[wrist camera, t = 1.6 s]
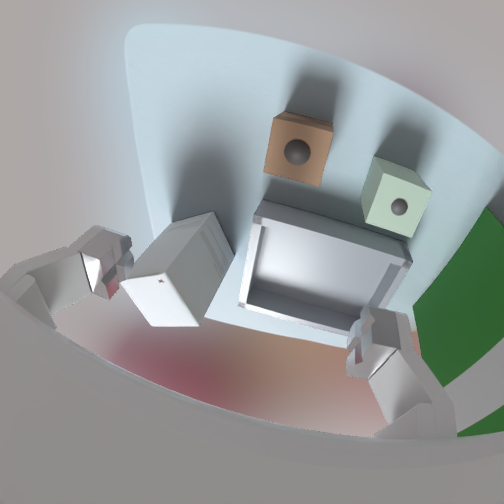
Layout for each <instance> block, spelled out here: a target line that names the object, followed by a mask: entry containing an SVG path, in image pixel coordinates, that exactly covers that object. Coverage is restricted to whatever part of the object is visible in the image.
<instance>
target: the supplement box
mask: <svg viewBox="0 0 504 504" xmlns="http://www.w3.org/2000/svg"><path fill="white" fill-rule="evenodd" d="M234 257H235V256H234V254H233V252H232V250H231V248H230V245H229V243H228V241H227V239H226V237H225V235H224V233H223V230H222V228H221V226H220V224H219V222H218V220H217V217H216V215H215V213H214V212H209V213H205V214H202V215H198V216H194V217H190V218H187V219H183V220H180V221H176V222H173V223H171V224H170V225H169V226H168V227H167V228H166V229H165V230H164V231H163V232H162V233H161V234H160V235H159V236H158V237H157V239H156V240H155V241H154V242H153V243H152V244H151V245H150V246H149V247H148V248H147V249H146V250H145V252H144V253H143V254H142V255H141V256H140V257H139V258H138V259H137V261H136V262H135V263H134V265H133V269H132V272H131V274H130V276H129V277H128V278H127V280H125V281H122V282H120V283H121V284H122V286H123V287H124V288H125V290H126V291H127V293H128V294H129V296H130V297H131V298H132V300H133V301H134V303H135V304H136V306H137V307H138V308H139V310H140V311H141V312H142V314H143V315H144V316H145V318H146V319H147V321H148V322H149V323H150V325H151V326H199V325H200V323H201V321H202V319H203V317H204V315H205V313H206V311H207V309H208V307H209V305H210V303H211V302H212V300H213V298H214V296H215V294H216V292H217V290H218V288H219V286H220V284H221V282H222V280H223V278H224V276H225V274H226V272H227V271H228V269H229V267H230V265H231V263H232V261H233V259H234Z"/></svg>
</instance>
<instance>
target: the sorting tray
mask: <svg viewBox="0 0 504 504" xmlns="http://www.w3.org/2000/svg"><path fill="white" fill-rule="evenodd" d="M412 263H413V260H412V257H411V255H410V252H409V249H408V246H407V243H406V242H404V241H401V240H398V239H395V238H392V237H389V236H386V235H383V234H380V233H377V232H373V231H370V230H367V229H364V228H361V227H358V226H354V225H351V224H348V223H345V222H341V221H338V220H335V219H331V218H328V217H325V216H321V215H318V214H314V213H311V212H307V211H304V210H300V209H296V208H293V207H289V206H285V205H282V204H278V203H274V202H270V201H267V200H263V199H262V201H261V203H260V205H259V206H258V208H257V210H256V212H255V213H254V216H253V222H252V227H251V233H250V239H249V244H248V250H247V256H246V261H245V267H244V273H243V279H242V284H241V290H240V296H239V302H238V306H239V307H242V308H246V309H249V310H252V311H256V312H259V313H262V314H266V315H269V316H273V317H276V318H280V319H283V320H287V321H290V322H294V323H298V324H301V325H305V326H309V327H313V328H316V329H320V330H324V331H328V332H332V333H336V334H340V335H344V336H348V335H349V332H350V329H351V327H352V325H353V323H354V322H355V321H356V320H359V319H361V317H360V312H361V311H362V309H363V307H364V306H366V305H371V306H375V307H379V308H383V309H385V308H386V306H387V305H388V303H389V302H390V300H391V298H392V297H393V295H394V294H395V292H396V290H397V289H398V287H399V285H400V284H401V282H402V280H403V279H404V277H405V275H406V273H407V272H408V270H409V268H410V266H411V265H412Z"/></svg>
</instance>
